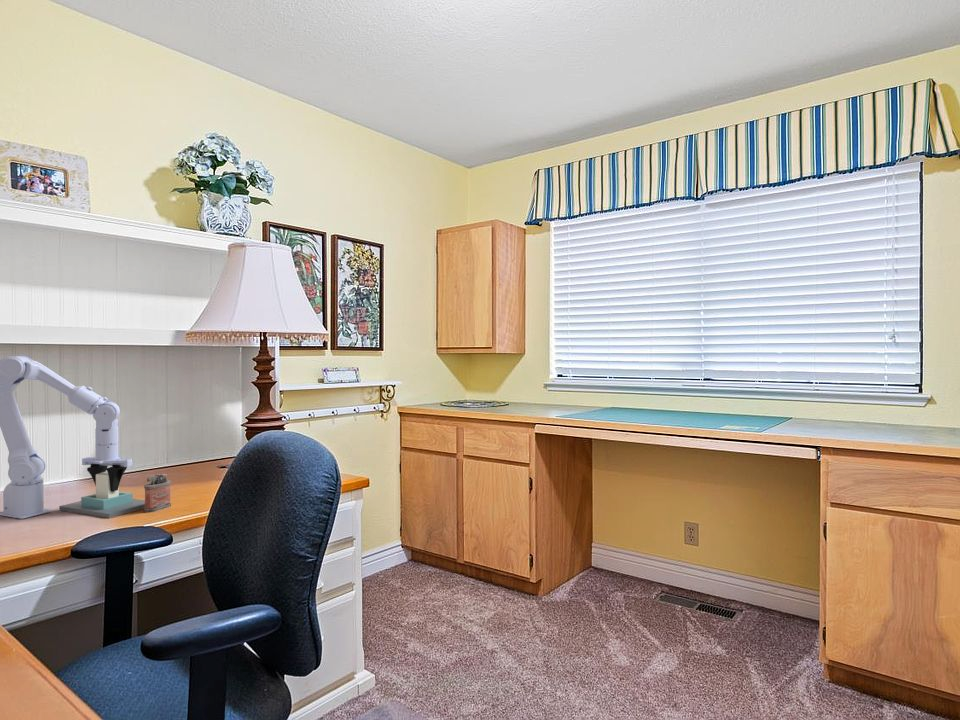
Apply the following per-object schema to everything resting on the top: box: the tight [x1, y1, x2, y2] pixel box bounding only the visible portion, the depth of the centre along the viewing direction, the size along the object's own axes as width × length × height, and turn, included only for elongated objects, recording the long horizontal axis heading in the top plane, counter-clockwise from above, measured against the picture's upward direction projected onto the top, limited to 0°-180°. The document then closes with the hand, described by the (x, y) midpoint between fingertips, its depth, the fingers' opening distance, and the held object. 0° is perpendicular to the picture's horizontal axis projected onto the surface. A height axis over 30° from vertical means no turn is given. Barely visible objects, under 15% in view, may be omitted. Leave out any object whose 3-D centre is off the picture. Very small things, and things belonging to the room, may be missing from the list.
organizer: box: [58, 491, 145, 519], centre depth 173 cm, size 20×14×4 cm
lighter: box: [143, 473, 172, 513], centre depth 173 cm, size 8×3×10 cm, turn 159°
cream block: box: [95, 470, 120, 499], centre depth 173 cm, size 4×4×8 cm
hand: (107, 490), depth 173 cm, fingers closed on cream block, 4 cm apart
